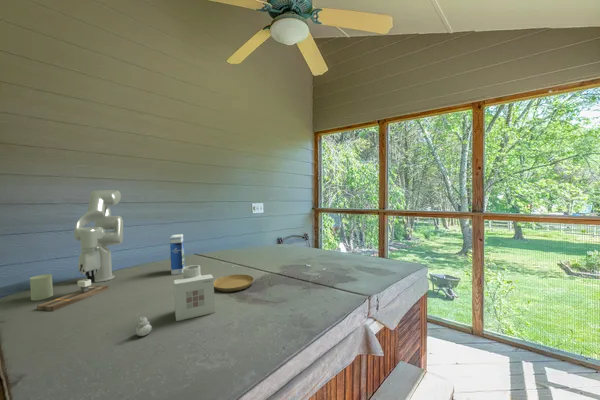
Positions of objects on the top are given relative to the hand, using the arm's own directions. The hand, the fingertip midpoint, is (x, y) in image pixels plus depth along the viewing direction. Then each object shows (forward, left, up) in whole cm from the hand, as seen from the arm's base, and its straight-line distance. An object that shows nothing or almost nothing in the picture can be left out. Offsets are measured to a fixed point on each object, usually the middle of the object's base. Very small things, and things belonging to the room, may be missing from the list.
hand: (91, 282), depth 158 cm
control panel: (+73, -12, -6) cm, 74 cm away
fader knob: (0, -4, -4) cm, 5 cm away
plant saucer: (+77, +22, -7) cm, 80 cm away
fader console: (0, -9, -6) cm, 11 cm away
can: (-22, -10, -6) cm, 25 cm away
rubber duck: (+67, -36, -6) cm, 76 cm away
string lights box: (+24, +44, -6) cm, 51 cm away
